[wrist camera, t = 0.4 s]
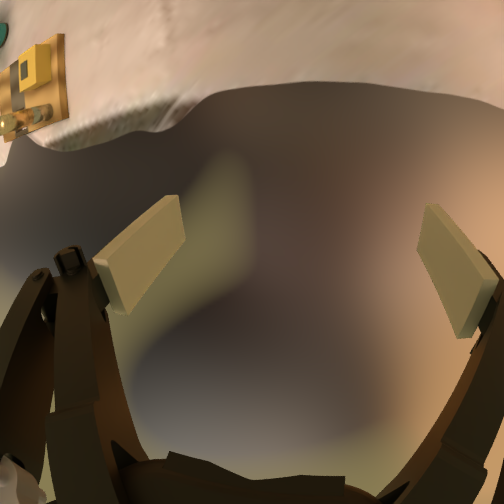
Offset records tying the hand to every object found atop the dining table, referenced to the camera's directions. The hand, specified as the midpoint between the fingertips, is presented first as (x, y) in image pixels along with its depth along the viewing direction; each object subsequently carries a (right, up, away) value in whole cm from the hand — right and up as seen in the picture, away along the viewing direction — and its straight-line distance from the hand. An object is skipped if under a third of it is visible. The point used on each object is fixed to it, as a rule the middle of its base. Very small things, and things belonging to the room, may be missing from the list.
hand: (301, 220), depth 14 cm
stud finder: (-42, +34, +20) cm, 58 cm away
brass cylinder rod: (-41, +25, +25) cm, 54 cm away
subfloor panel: (-49, +32, +25) cm, 63 cm away
